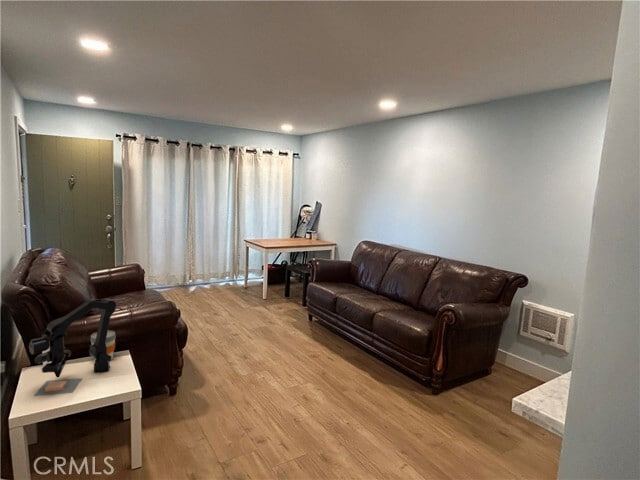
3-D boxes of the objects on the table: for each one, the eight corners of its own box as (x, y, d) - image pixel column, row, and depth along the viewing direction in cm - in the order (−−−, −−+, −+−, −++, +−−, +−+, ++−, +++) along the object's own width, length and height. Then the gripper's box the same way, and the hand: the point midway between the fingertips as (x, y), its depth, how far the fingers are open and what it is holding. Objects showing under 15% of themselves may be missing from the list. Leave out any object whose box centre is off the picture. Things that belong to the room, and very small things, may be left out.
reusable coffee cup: (92, 366, 202) (91, 340, 200) (90, 357, 212) (89, 332, 210) (117, 361, 210) (117, 336, 208) (114, 352, 220) (114, 328, 218)
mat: (82, 379, 189) (82, 378, 189) (72, 393, 176) (72, 392, 176) (46, 381, 185) (46, 380, 184) (33, 397, 171) (33, 396, 171)
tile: (66, 380, 183) (61, 387, 177) (66, 383, 183) (62, 390, 177) (50, 382, 181) (45, 388, 175) (50, 385, 181) (45, 391, 175)
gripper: (45, 340, 185) (47, 369, 187) (28, 356, 167) (29, 388, 170) (71, 338, 188) (72, 367, 190) (56, 355, 171) (57, 386, 173)
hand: (58, 376), depth 181 cm, fingers closed
